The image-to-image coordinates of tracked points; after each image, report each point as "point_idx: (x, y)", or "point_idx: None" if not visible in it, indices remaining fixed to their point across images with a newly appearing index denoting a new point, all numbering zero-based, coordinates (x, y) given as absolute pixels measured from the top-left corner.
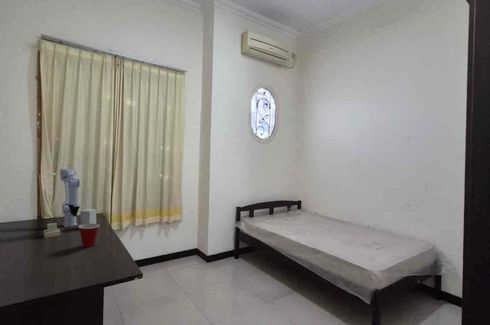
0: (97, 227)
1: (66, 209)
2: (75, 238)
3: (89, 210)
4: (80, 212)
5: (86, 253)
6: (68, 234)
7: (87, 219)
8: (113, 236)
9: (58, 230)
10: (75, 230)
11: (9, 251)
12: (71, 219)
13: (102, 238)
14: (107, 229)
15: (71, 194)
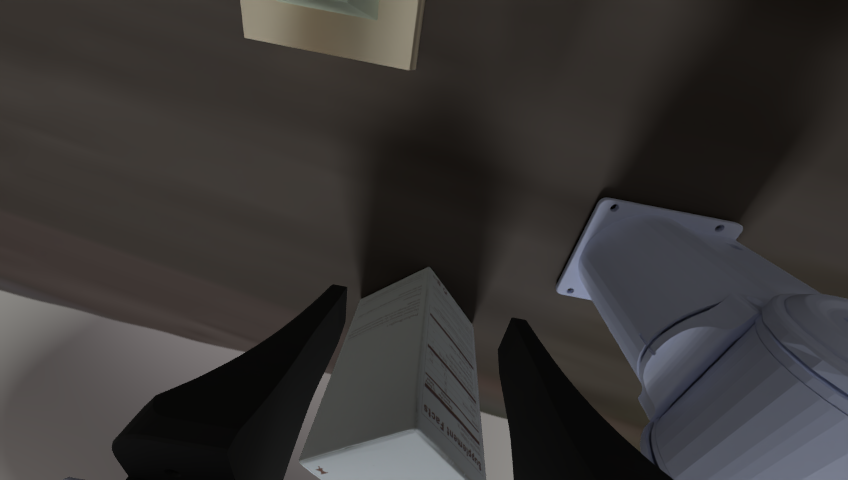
0: None
1: (783, 384)
2: (87, 114)
3: (344, 477)
4: (413, 406)
5: None
6: (271, 119)
7: (353, 355)
8: (50, 300)
9: (286, 26)
10: (381, 213)
11: None
12: (609, 292)
13: (19, 245)
14: (251, 346)
15: None
